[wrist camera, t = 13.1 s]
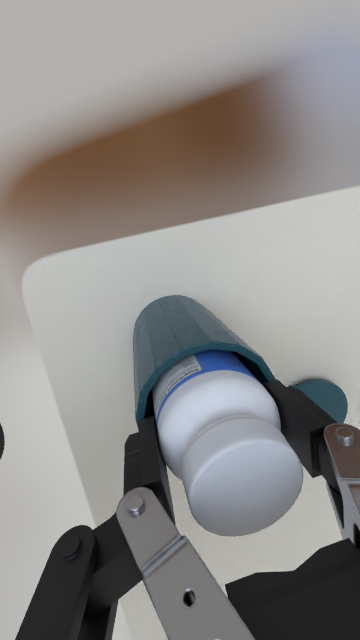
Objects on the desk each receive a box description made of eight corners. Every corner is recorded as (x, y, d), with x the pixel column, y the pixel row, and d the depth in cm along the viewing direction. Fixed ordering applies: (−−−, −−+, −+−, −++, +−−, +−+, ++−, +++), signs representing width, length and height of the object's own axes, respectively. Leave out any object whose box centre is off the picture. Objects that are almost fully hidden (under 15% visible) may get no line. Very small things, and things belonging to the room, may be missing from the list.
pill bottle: (242, 361, 19) (353, 478, 9) (188, 413, 19) (243, 575, 10) (189, 309, 17) (261, 390, 8) (130, 368, 17) (131, 513, 8)
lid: (274, 451, 30) (309, 501, 24) (266, 388, 28) (303, 428, 22) (340, 429, 31) (389, 472, 25) (338, 367, 29) (392, 399, 23)
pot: (144, 379, 25) (156, 486, 14) (123, 306, 23) (118, 366, 12) (218, 359, 26) (283, 444, 15) (204, 286, 23) (269, 325, 13)
